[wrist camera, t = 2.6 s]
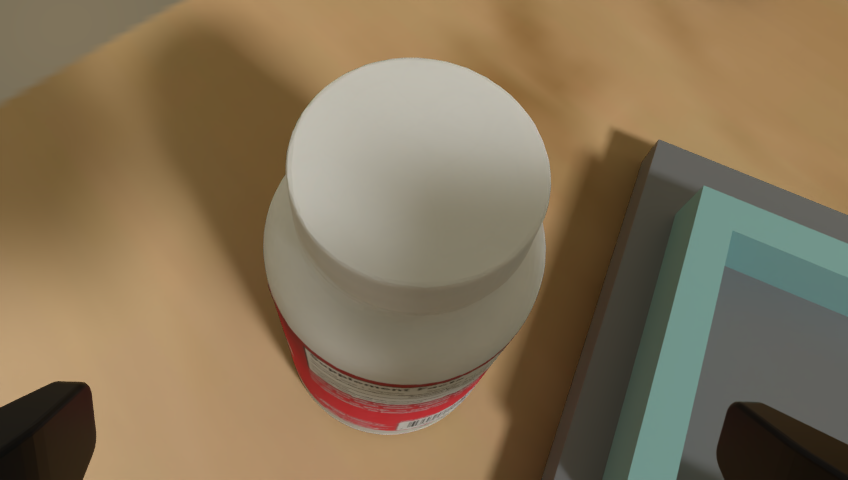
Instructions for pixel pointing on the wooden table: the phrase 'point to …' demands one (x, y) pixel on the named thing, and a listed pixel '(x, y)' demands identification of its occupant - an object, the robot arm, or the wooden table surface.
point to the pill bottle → (406, 239)
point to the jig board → (706, 323)
